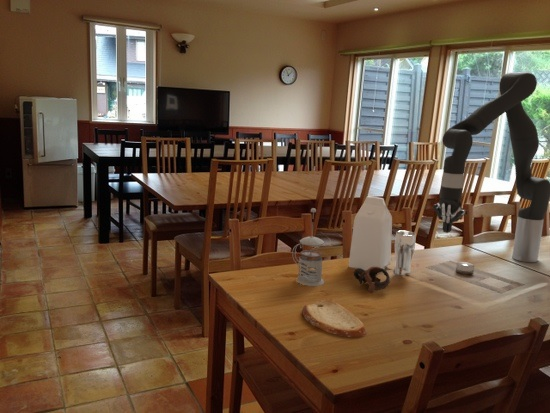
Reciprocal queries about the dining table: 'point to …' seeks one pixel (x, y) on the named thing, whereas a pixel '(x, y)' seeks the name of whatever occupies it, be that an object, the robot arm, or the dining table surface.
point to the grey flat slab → (474, 276)
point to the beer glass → (404, 252)
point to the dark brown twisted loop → (372, 278)
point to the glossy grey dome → (464, 268)
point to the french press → (310, 261)
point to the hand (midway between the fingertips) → (446, 232)
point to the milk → (371, 235)
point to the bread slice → (333, 319)
